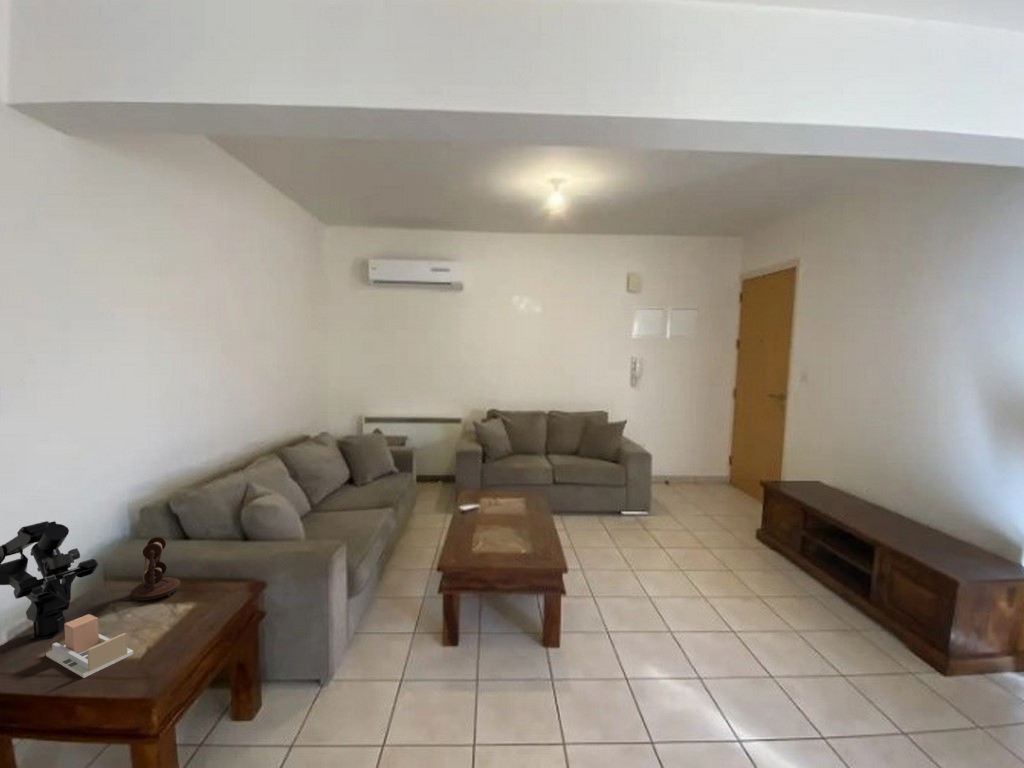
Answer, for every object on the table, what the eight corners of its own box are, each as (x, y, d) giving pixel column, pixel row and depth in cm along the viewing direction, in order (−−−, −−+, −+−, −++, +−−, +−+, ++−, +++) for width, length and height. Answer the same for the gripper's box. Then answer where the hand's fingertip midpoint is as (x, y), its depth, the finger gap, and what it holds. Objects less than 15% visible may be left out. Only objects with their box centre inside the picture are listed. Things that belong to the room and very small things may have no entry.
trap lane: (46, 656, 144) (44, 632, 144) (95, 635, 155) (94, 613, 154) (83, 677, 135) (82, 653, 134) (133, 654, 146) (132, 631, 145)
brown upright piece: (136, 588, 185) (134, 536, 184) (183, 581, 191) (182, 530, 190) (125, 607, 172) (123, 551, 170) (176, 599, 178) (174, 544, 176)
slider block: (65, 650, 145) (64, 623, 144) (90, 639, 150) (89, 613, 150) (74, 654, 143) (72, 628, 142) (99, 643, 148) (97, 618, 148)
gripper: (15, 554, 142) (36, 601, 138) (93, 533, 158) (114, 574, 154) (5, 575, 146) (24, 621, 142) (82, 552, 163) (101, 593, 158)
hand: (68, 601), depth 149 cm, fingers closed
